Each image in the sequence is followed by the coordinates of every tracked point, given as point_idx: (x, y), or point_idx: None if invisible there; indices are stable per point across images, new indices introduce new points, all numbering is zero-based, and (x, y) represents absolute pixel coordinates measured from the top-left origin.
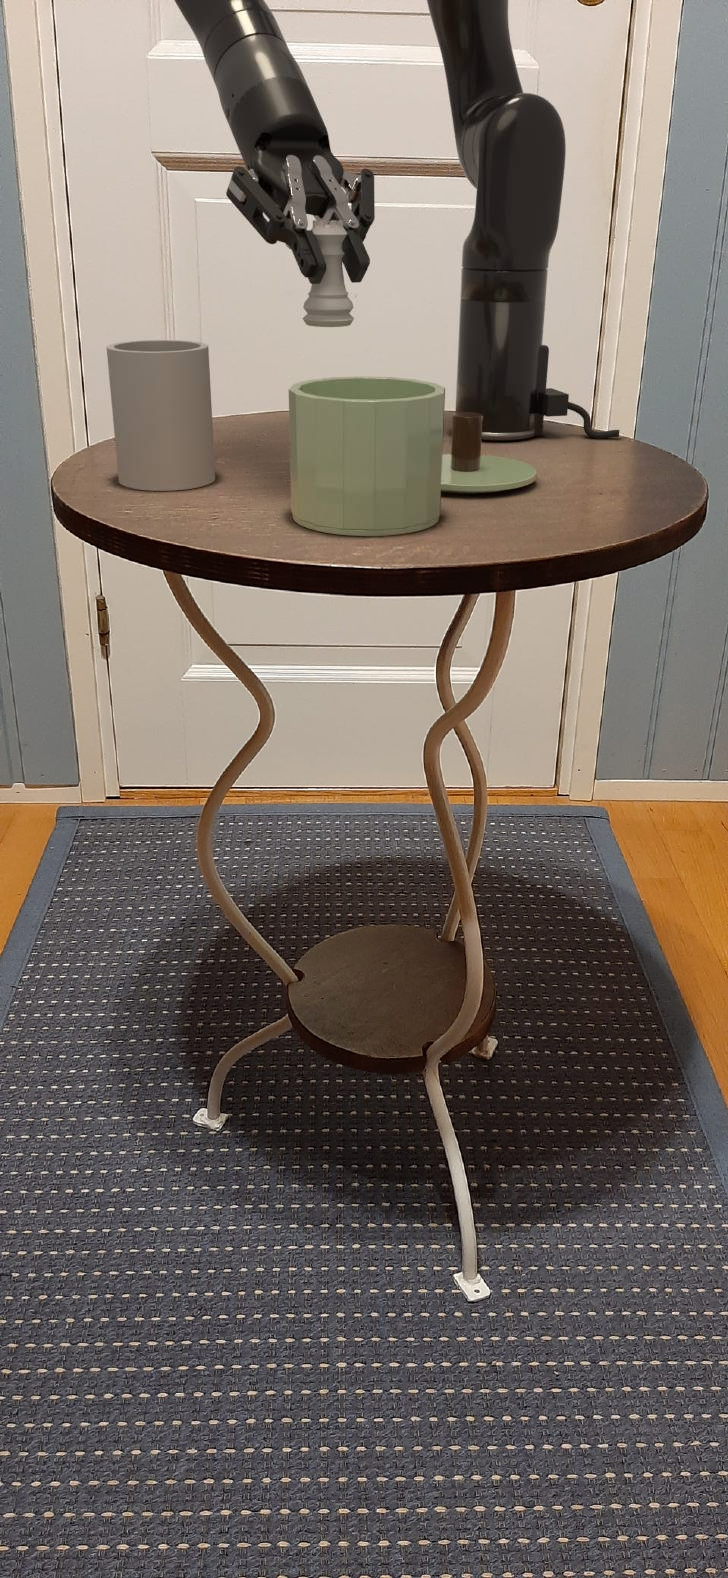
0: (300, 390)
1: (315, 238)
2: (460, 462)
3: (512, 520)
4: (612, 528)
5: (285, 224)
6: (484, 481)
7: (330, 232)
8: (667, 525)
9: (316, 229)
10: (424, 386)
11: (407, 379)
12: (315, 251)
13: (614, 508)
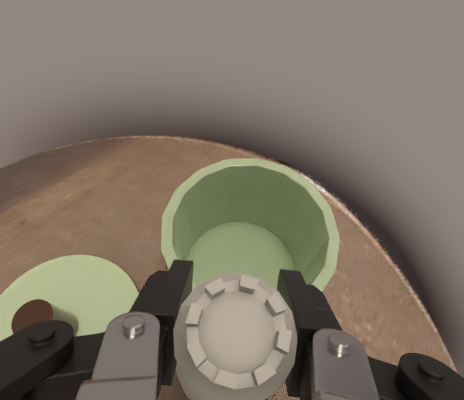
0: (327, 254)
1: (293, 309)
2: (74, 319)
3: (152, 204)
4: (115, 156)
5: (388, 375)
6: (97, 272)
7: (259, 279)
8: (81, 143)
9: (288, 317)
10: (173, 221)
11: (169, 251)
12: (302, 287)
13: (62, 187)
